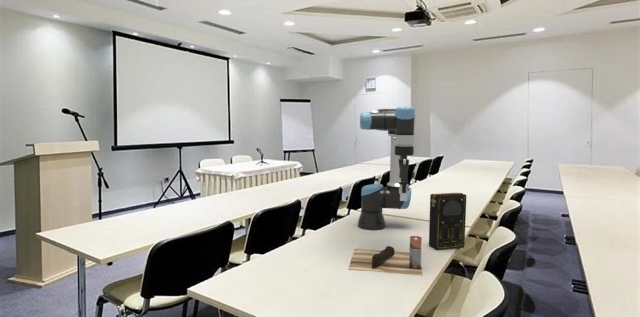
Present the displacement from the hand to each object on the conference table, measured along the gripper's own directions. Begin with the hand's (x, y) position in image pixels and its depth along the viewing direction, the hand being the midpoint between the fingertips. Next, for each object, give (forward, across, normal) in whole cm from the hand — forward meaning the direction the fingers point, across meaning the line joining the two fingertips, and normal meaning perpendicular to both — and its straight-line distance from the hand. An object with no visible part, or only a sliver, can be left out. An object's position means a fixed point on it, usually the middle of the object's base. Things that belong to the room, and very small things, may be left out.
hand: (402, 197), depth 151 cm
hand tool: (+26, +5, -8) cm, 28 cm away
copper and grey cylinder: (+26, +9, +5) cm, 28 cm away
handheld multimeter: (+27, -20, +21) cm, 40 cm away
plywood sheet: (+26, +4, -6) cm, 27 cm away
